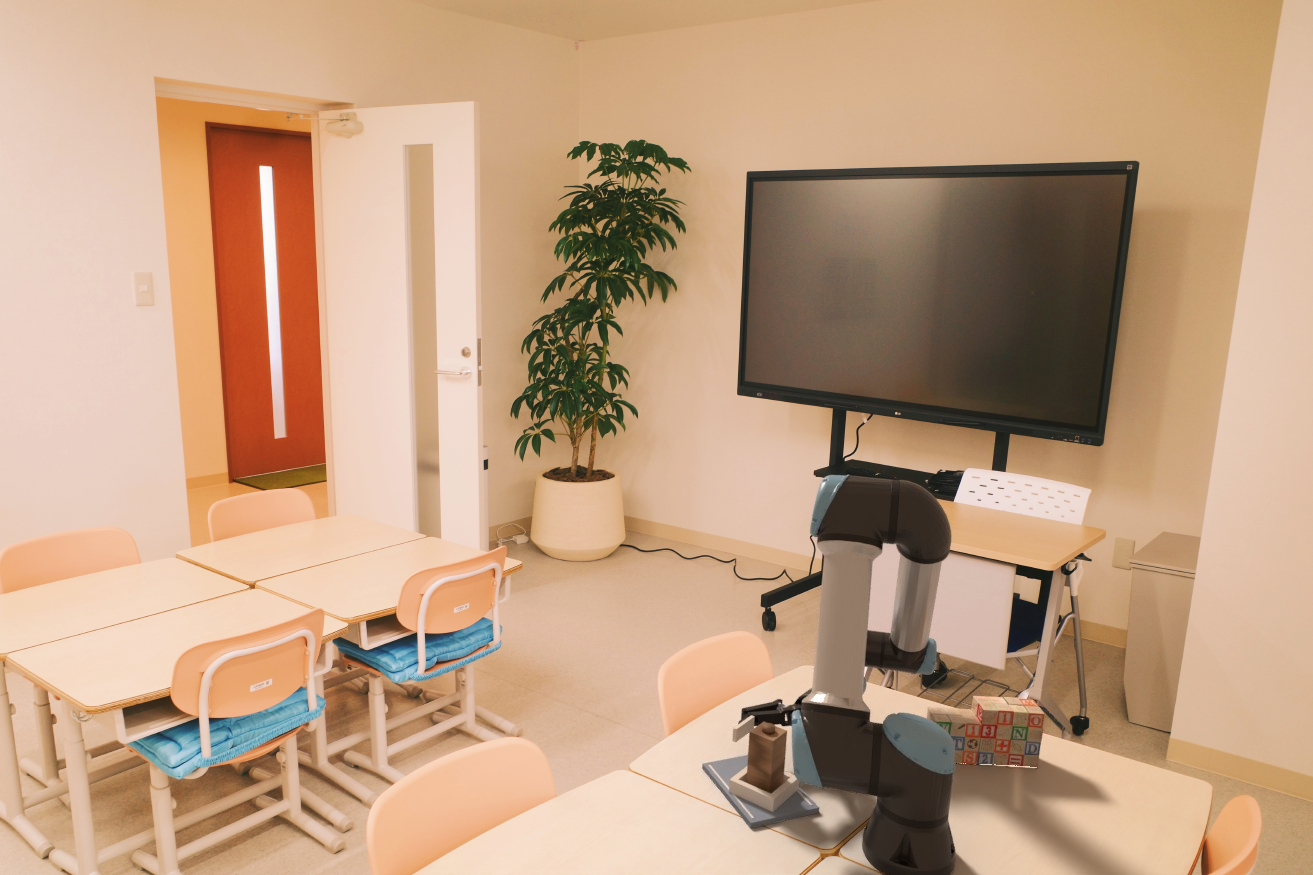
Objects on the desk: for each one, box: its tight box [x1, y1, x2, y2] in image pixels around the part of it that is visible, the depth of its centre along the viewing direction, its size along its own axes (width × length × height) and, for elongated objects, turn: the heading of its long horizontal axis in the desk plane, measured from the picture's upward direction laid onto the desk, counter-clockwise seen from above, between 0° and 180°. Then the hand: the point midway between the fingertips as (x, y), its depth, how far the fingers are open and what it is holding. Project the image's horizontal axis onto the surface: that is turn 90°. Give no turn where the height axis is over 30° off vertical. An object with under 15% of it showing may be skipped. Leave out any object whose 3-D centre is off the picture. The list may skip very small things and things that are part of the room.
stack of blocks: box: [926, 695, 1045, 768], centre depth 180 cm, size 21×6×12 cm, turn 88°
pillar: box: [746, 722, 788, 794], centre depth 163 cm, size 5×5×13 cm
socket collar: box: [729, 766, 800, 812], centre depth 164 cm, size 9×9×2 cm
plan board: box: [701, 754, 820, 829], centre depth 167 cm, size 20×14×1 cm
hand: (765, 747), depth 163 cm, fingers open, 13 cm apart
